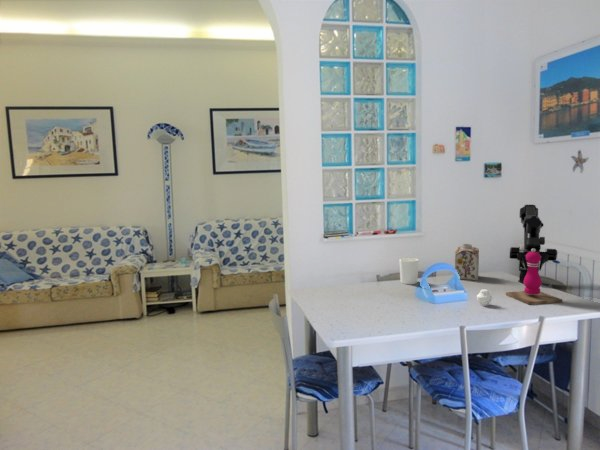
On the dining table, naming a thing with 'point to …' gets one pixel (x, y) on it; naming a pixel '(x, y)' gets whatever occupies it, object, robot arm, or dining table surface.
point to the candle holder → (408, 270)
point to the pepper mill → (532, 273)
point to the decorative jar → (467, 262)
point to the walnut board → (534, 298)
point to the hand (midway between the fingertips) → (533, 269)
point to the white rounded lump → (484, 297)
